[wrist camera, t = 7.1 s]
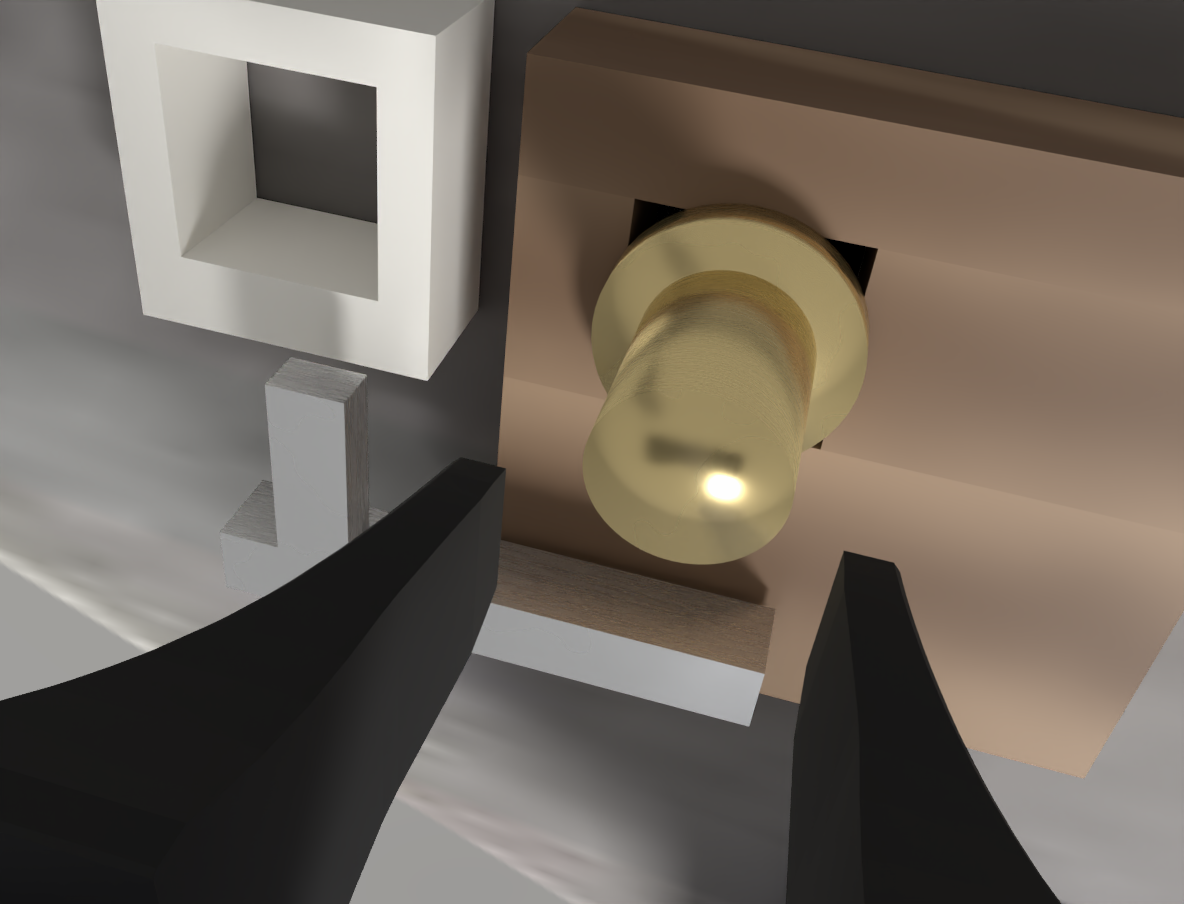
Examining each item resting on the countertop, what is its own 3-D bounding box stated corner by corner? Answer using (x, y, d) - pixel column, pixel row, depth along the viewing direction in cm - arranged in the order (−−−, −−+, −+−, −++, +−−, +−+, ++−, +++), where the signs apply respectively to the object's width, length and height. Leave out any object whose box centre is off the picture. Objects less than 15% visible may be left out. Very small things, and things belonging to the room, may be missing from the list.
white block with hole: (478, 309, 24) (427, 381, 21) (219, 252, 25) (143, 314, 22) (494, -8, 20) (435, 35, 17) (188, -64, 21) (91, -30, 18)
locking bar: (760, 660, 23) (749, 726, 21) (267, 533, 24) (226, 586, 23) (819, 454, 20) (811, 515, 18) (249, 322, 21) (200, 368, 20)
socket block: (1069, 674, 25) (1083, 778, 23) (525, 537, 27) (485, 621, 25) (1351, 148, 18) (1415, 221, 16) (575, 6, 20) (526, 53, 17)
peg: (842, 395, 22) (812, 637, 17) (618, 345, 23) (517, 562, 17) (905, 177, 19) (894, 379, 14) (649, 127, 20) (542, 301, 14)
